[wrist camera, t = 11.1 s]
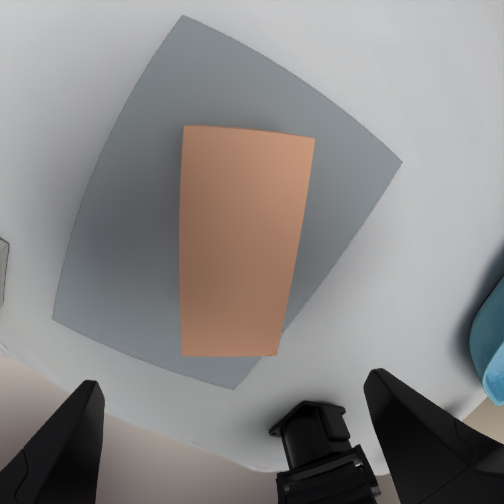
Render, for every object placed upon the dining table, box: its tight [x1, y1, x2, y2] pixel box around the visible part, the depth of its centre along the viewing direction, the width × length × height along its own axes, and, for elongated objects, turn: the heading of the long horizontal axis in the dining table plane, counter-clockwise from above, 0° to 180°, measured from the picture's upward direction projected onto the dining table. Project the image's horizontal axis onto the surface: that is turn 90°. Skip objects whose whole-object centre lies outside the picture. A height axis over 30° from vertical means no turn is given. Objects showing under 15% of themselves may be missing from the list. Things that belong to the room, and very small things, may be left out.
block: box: [179, 125, 315, 357], centre depth 15 cm, size 5×5×11 cm
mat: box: [52, 15, 403, 390], centre depth 18 cm, size 22×16×1 cm
